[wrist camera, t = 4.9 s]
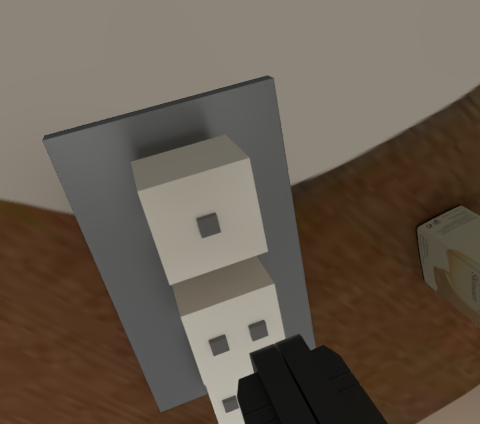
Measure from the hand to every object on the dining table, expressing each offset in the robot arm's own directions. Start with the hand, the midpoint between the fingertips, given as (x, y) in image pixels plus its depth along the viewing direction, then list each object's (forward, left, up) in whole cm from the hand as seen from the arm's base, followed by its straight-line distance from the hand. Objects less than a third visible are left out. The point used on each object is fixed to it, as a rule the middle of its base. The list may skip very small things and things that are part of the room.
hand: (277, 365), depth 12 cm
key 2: (0, +7, -13) cm, 14 cm away
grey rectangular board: (0, +7, -17) cm, 18 cm away
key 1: (0, 0, -13) cm, 13 cm away
